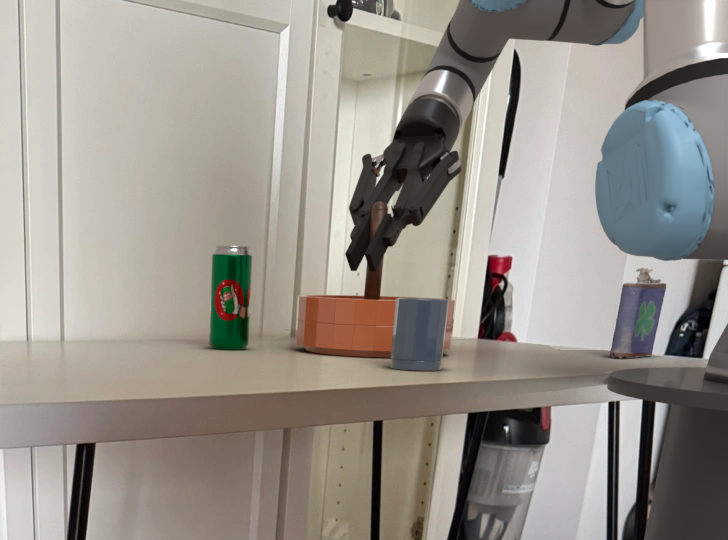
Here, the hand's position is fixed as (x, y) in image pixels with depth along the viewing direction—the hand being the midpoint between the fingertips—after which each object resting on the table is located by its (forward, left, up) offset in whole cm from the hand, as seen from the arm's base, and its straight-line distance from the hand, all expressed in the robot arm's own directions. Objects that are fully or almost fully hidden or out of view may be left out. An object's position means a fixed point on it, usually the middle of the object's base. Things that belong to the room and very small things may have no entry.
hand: (360, 262), depth 125 cm
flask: (-22, -31, -11) cm, 39 cm away
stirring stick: (+1, -4, -7) cm, 8 cm away
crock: (-17, +11, -10) cm, 23 cm away
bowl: (0, -4, -10) cm, 11 cm away
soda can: (+13, +9, -11) cm, 19 cm away
